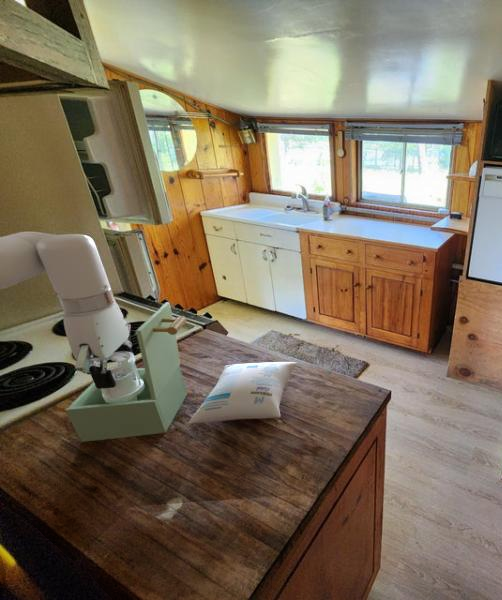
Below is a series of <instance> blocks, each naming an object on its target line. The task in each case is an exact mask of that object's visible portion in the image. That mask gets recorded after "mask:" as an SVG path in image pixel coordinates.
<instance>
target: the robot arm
mask: <svg viewBox="0 0 502 600" xmlns="http://www.w3.org/2000/svg"><path fill="white" fill-rule="evenodd" d="M43 274H46V275H47V277H48V279H49V282H50V283H51V286H52V288H53V291H54V293H55V295H56V297H57V300H58V303H59V304H60V306H61V309H62V311H63V313H64V315H63V317H62V318H63V326H64V327H63V328H64V331H65V336H66V338H67V341H68V344H69V348H70V350H71V353H72V355H73V357H74V360H76V362H75V365H74V370H76V371H78V372H81V373H83V374H87V375H89V376H90V377H91V379H92V382H94V383H95V386H96V388H98V389H103V388H114V387H115V386H116V383H115V380H114V378H113V375H112V373H111V371H110V370H107V368H108V360H107V358H108V357H109V356H110V355H111V354H112V353H114V352H120V351H128V352H131V353H133V354H134V351H133V348H132V347H133V343H132V342H131V337H132V334H131V329H132V325H131V324H130V323H128V322H126V319H125V316H124V314H123V312H122V310H121V308H120V307H119V305H118V303H117V301H116V298H115V295H114V293H113V292H114V291H113V289H112V287H111V285H110V281H109V279H108V276H107V273H106V269H105V267H104V265H103V262H102V259H101V257H100V253H99V250H98V247H97V245H96V243H95V241H94V240H93V238H92V237H90V236H88V235H85V234H80V233H67V234H66V233H65V234H53V233H46V232H38V231H21V232H20V231H19V232H15V233H12V234H8V235H3V236H0V290H5V289H8V288H10V287H13V286H15V285H17V284H20V283H23V282H24V281H27V280H29V279H32V278H34V277H38V276H40V275H43ZM94 356H95V357H94ZM125 358H127V357H125ZM94 361H100V365H98V366H94ZM135 364H137V360H136V358H135Z"/></svg>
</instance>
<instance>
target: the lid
mask: <svg viewBox="0 0 502 600" xmlns="http://www.w3.org/2000/svg"><path fill="white" fill-rule="evenodd" d="M187 320H188V319H187V317H186V316H184V315H179V316H177V317H173V311H172V307H171V302H170V301H165V302H164V303H163V304H162V305H161V307H159V308H158V309H157V310H156V311H155V312H154V313H153V314H152V315H151V316H150V317H148V319H146V321H144V322H143V323H142V324H141V325H140V326H139V327H138V328H137V329H136V330H135V333H136V337H137V342H138V346H139V350H140V355H141V359H142V364H143V368H145V373H146V377H147V381H148V386H149V390H150V395H151V399H152V400H156V399H157V398H158V396H159V395H160V393H161V392H162V390H163V389H164V387H165V386H166V384H167V383H168V381H169V380H170V378H171V377H172V376H173V374H174V373H175V371H176V370H177V368H178V367H180V365H181V363H182V362H181V357H180V352H179V347H178V341H177V336H176V334H178V332H179V331H180V330H181V329H182V328H183V326H184V325H185V324H186V322H187Z"/></svg>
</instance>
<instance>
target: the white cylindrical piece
mask: <svg viewBox="0 0 502 600" xmlns="http://www.w3.org/2000/svg"><path fill="white" fill-rule="evenodd" d="M125 357H127V358H125ZM135 359H136V357H135V355H134V352H133V353H131V352H128V351H120V352H113V353H112V354H111V355H110V356H109V357H108V358H107V361H109V360H111V362H116V363H118V364H115V365H114V364H113V365H112V366H109V367H107V370H110V371H111V373H112V375H113V378H114V380H115V383H116V386H115V387H114V388H103V389H101V391H102V396H103V398H104V400H105V401H106V402H108V403H120V402H131V401H138V400H137V397H136V396H137V395H139V394H140V393H141V392H142V391H143V390H144V388H145V385H144V382H143V380H142V379H140V376H139V373H138V370H137V369H138V368H137V365H136V363H135ZM94 366H98V367H99V366H100V361H94ZM117 374H120V376H117Z"/></svg>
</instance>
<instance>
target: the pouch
mask: <svg viewBox="0 0 502 600" xmlns="http://www.w3.org/2000/svg"><path fill="white" fill-rule="evenodd" d="M297 365H298V362H295V361H267V362H265V361H264V362H251V363H250V362H248V363H234V364H227V365H225V366H224V367H223V371H222V373H221V375H220V376H219V378H218V380H217V383H216V384H215V386H214V387H213V388H212V390H211V391H210V393H209V394H208V395H207V396H206V397H205V400H204V401H203V402H202V403H201V405H200V406H199V407H198V409H197V410H196V411H195V412H194V414H193V415H192V417H191V418H190V419H189V420H188V422H187V424H202V423H204V424H205V423H215V422H226V421H237V420H257V419H258V420H259V419H276V418H277V419H278V418H281V411H280V404H281V402H282V398H283V392H284V389H285V387H286V385H287V383H288V381H289V379H290V376H291V375H292V373H293V371H294V370H295V368H296V366H297Z"/></svg>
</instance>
